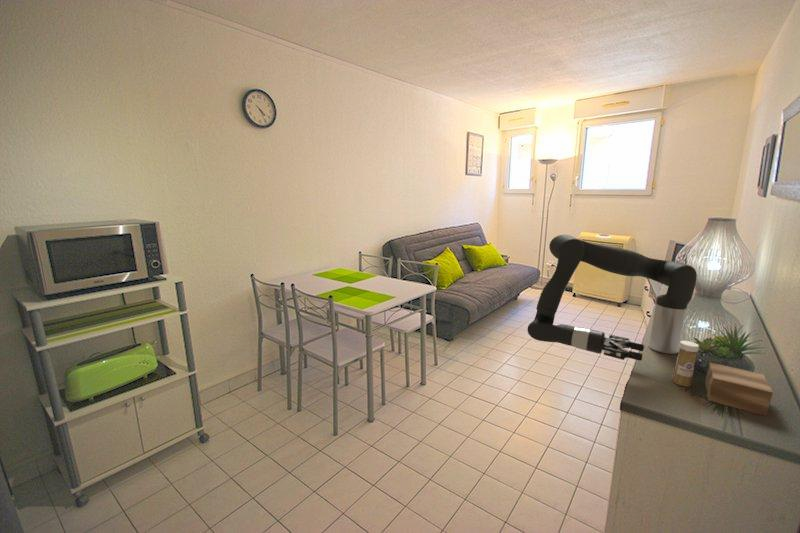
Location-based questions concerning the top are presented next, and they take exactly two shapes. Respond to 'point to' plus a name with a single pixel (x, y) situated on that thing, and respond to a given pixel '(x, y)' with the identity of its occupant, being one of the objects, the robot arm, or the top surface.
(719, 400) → the block
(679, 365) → the sprinkles bottle
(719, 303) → the top surface
